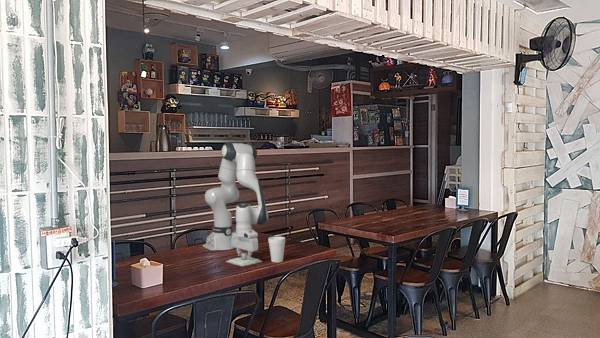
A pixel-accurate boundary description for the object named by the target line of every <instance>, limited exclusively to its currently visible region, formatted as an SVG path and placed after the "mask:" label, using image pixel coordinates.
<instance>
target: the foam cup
mask: <svg viewBox="0 0 600 338" xmlns="http://www.w3.org/2000/svg"><path fill="white" fill-rule="evenodd" d="M267 241H268V246H269V253H270V259H271V262H272V263H282V262H283V261H284V254H285V245H286V237H285V236H270V237H268V239H267Z"/></svg>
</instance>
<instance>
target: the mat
mask: <svg viewBox="0 0 600 338" xmlns="http://www.w3.org/2000/svg"><path fill="white" fill-rule="evenodd" d="M229 260H230V259H228V260H225V262H226V263H229V264H232V265H235V266H240V267H246V266H250V265H255V264H260V263H263V260H261V259H259V261H256V262H252V263H248V264H244V265H241V264H238V263H234V262H231V261H229Z"/></svg>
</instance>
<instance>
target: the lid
mask: <svg viewBox="0 0 600 338" xmlns="http://www.w3.org/2000/svg"><path fill="white" fill-rule="evenodd" d="M247 255H248V252H241V256H238V257H235V258H231V259H228V260H229V261H231V262H234V263H238V264H241V265H244V264H248V263H252V262H256V261H259V260H260V259H259V258H255V257H252V256H251V258H247Z"/></svg>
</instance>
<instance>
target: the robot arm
mask: <svg viewBox="0 0 600 338" xmlns="http://www.w3.org/2000/svg"><path fill="white" fill-rule="evenodd" d="M220 150H221V152H220V153H221V156H222V159H221V161H220V165H219V169H218V170H219V171H218V175H217V177H218V179H219V181H221V184H220V186H218V187H212V188H209V189H208V190H206V191H205V194H204V201H205V202H206V204H207V205H208V206H209V207H210V208H211V210H212V213H213V214H212V215H213V226H212V227H211V229H212V232H211V233H210V234H208V236H206V242H205V243H204V244H202V248H205V249H207V250H210V251H228V250H229V251H230V250H232V249H235V248H236V252H237V256H238V257H241V253H242V250H244V251H247V258H251V257H252V253H253V252H257V251H258V249H259V240H258V237H259V233H258V232H257V231H255V230H254V229H253V227H252V225H257V226H258V225H259V226H263V225H265V224H266V223H267V222H268V221H269V213H268V210H267V207H266V201H265V194H264V190H263V189H264V188H263V185H262V182H261V180H260V179H259V178H258V177H257V174H256V163H255V162H256V159H257V156H258V150H257V146H254V145H252V144H247V143H241V142H239V143H236V142H225V143H224V144H223V145H222V147H221V149H220ZM236 180H237V182H238V183H239V184H240V185H241V186H243V187H245V188H248V189H251V190H253V191H254V192H255V194H256V198H257V204H258V206H257V207H251V205H250V204H249V203H247V202H242V203H237V205H236V208H235V212H234V221H235V223H236V225H235V230H233V229H234V228H233V221H232V219H233V218H232V217H233V216H232V212H231V211H230V210H228V209H227V204H231V203H234V202H236V201H238V199H239V197H240V191H239V189H238V188H237V185H236Z"/></svg>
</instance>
